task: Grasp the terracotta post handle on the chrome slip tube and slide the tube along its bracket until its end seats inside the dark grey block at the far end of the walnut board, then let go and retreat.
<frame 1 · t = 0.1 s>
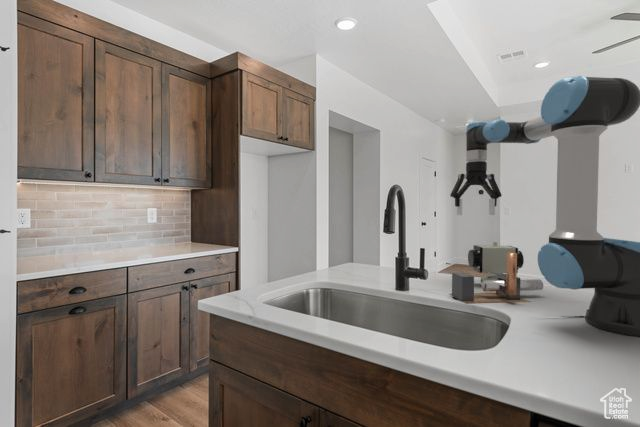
hand: (475, 215, 139), 28 cm above the counter, fingers open, 13 cm apart
clamp: (507, 297, 117), resting on board
board: (488, 299, 117), on the counter
slip tube: (518, 272, 114), point 10 cm above the counter, slide at 0.0 cm
dark grey block: (462, 298, 116), resting on board
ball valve: (493, 288, 134), on the counter
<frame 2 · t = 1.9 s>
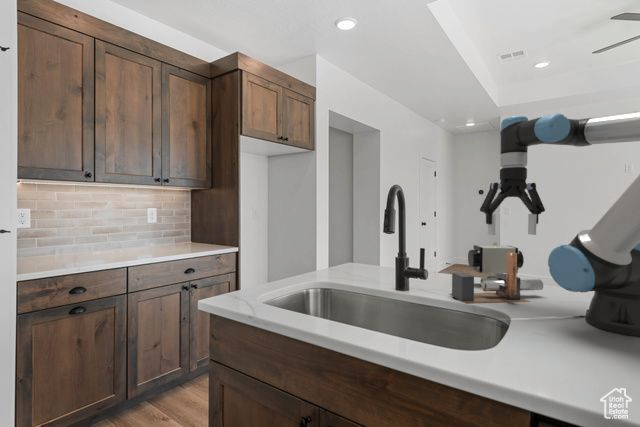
hand: (511, 234, 110), 23 cm above the counter, fingers open, 13 cm apart
nothing on the counter moved.
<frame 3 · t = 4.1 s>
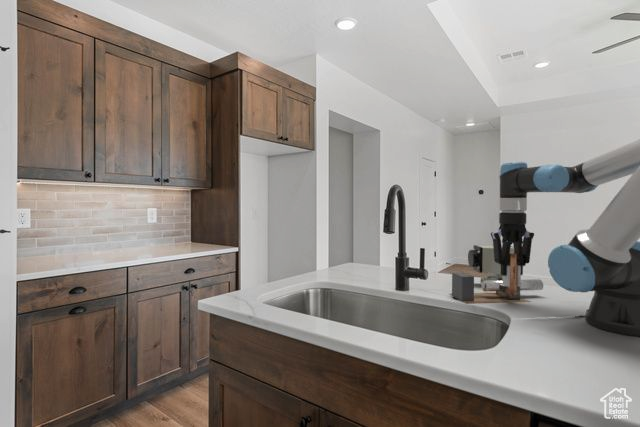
hand: (511, 285, 110), 7 cm above the counter, fingers closed on slip tube, 3 cm apart
slip tube: (518, 272, 114), point 10 cm above the counter, slide at 0.0 cm, touching gripper
everything else where it was.
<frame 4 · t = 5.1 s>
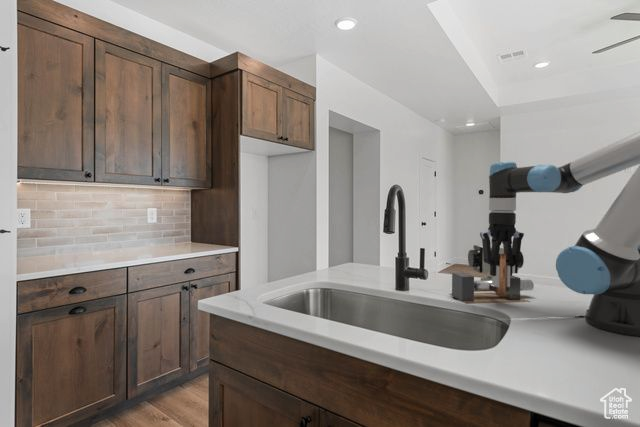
hand: (500, 285, 110), 7 cm above the counter, fingers closed on slip tube, 3 cm apart
slip tube: (508, 272, 114), point 10 cm above the counter, slide at 3.5 cm, touching gripper
everything else where it was.
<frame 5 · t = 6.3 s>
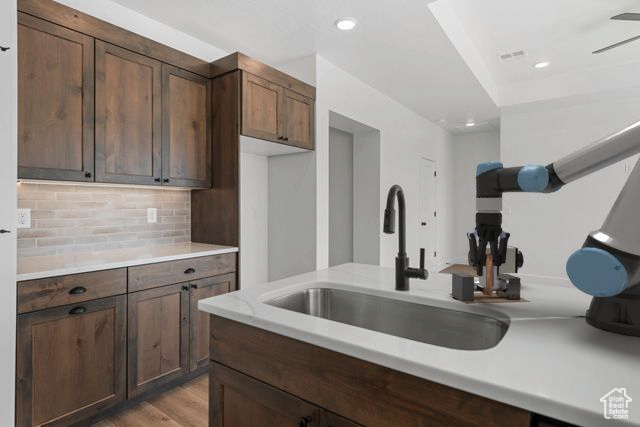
hand: (487, 285, 109), 7 cm above the counter, fingers closed on slip tube, 3 cm apart
slip tube: (495, 272, 113), point 10 cm above the counter, slide at 8.0 cm, touching gripper
everything else where it was.
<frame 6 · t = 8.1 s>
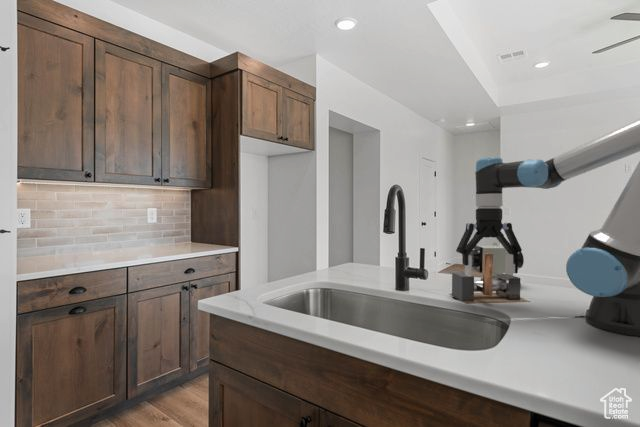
hand: (488, 275, 109), 10 cm above the counter, fingers open, 13 cm apart
slip tube: (495, 272, 113), point 10 cm above the counter, slide at 8.0 cm
everything else where it was.
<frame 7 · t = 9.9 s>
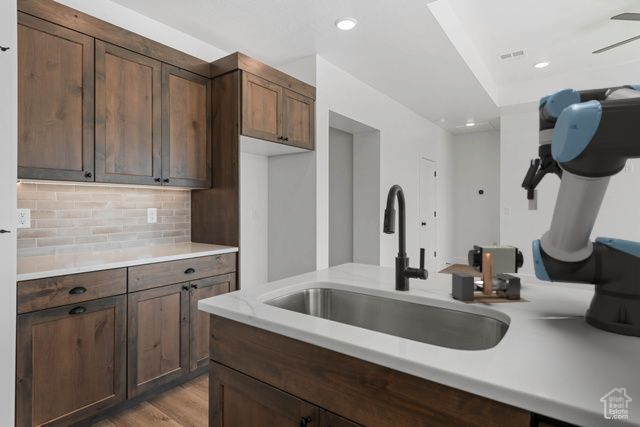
hand: (551, 210, 112), 30 cm above the counter, fingers open, 13 cm apart
nothing on the counter moved.
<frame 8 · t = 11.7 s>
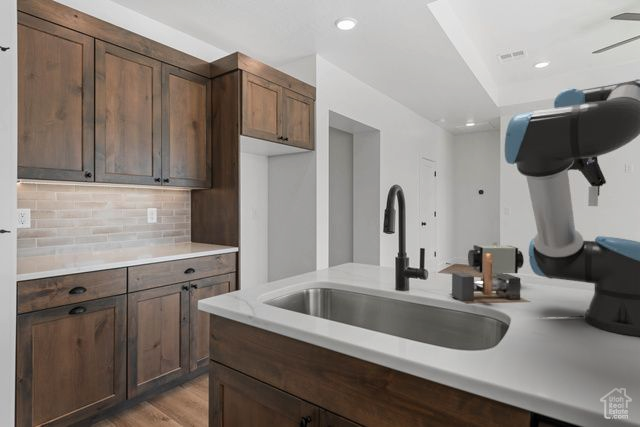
hand: (573, 206, 113), 32 cm above the counter, fingers open, 13 cm apart
nothing on the counter moved.
at the end: slip tube slide at 8.0 cm; the gripper is holding nothing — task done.
